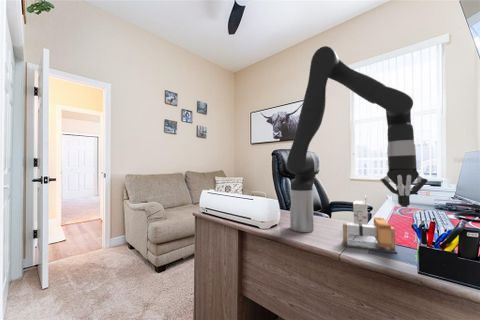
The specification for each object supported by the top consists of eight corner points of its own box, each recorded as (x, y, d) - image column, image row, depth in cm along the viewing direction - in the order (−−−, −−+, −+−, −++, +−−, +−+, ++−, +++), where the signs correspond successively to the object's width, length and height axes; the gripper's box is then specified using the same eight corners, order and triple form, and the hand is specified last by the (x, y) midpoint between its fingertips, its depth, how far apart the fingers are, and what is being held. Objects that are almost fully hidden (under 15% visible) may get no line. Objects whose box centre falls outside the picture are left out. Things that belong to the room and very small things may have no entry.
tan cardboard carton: (380, 246, 65) (379, 225, 65) (374, 236, 75) (373, 217, 75) (391, 248, 64) (390, 226, 64) (384, 237, 73) (383, 218, 74)
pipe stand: (343, 246, 71) (342, 225, 72) (342, 240, 77) (342, 221, 77) (397, 253, 65) (396, 230, 65) (392, 246, 71) (391, 225, 71)
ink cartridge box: (354, 226, 94) (353, 193, 95) (367, 228, 92) (366, 194, 92) (353, 231, 87) (352, 196, 87) (367, 233, 84) (366, 196, 85)
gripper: (380, 155, 70) (382, 207, 69) (431, 153, 64) (434, 210, 64) (376, 156, 77) (378, 203, 76) (421, 154, 71) (424, 205, 71)
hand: (404, 206), depth 70 cm, fingers closed
